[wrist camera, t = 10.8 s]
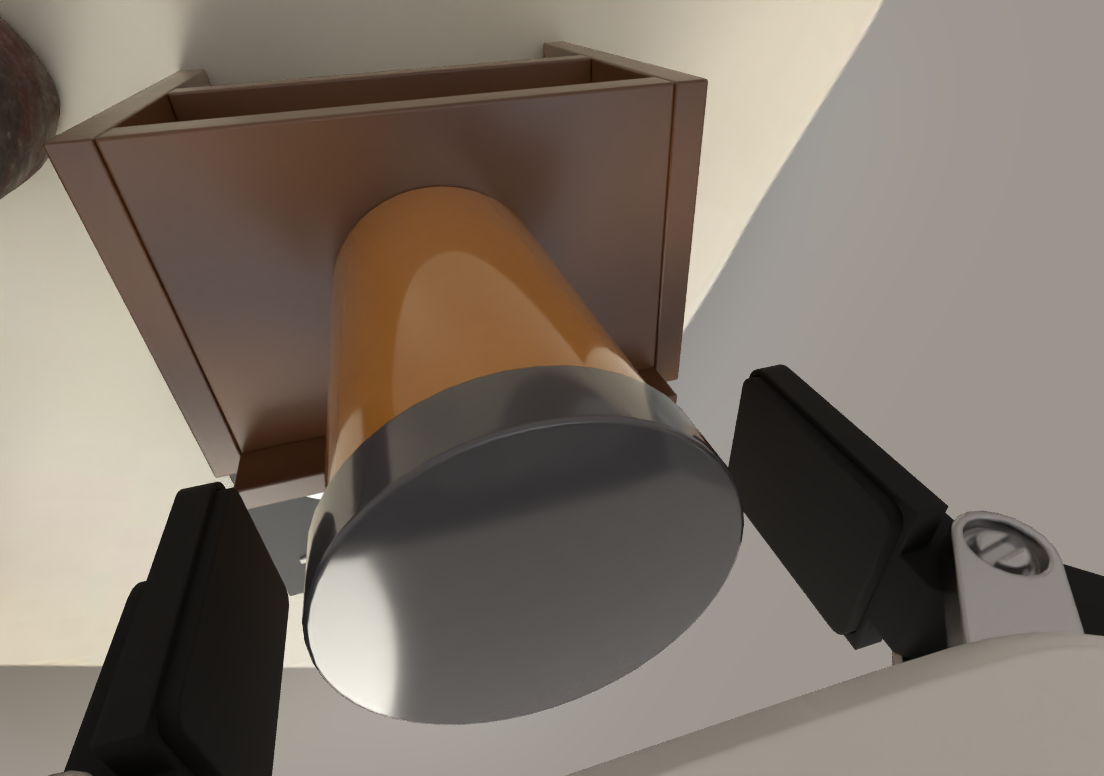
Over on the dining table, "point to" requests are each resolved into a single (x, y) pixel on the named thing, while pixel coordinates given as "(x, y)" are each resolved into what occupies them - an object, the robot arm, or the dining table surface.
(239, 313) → the shelf
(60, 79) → the dining table surface
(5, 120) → the candle
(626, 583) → the jar
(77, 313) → the dining table surface
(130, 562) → the dining table surface
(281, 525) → the hot plate
